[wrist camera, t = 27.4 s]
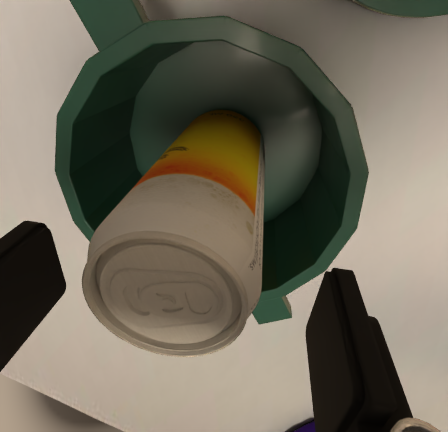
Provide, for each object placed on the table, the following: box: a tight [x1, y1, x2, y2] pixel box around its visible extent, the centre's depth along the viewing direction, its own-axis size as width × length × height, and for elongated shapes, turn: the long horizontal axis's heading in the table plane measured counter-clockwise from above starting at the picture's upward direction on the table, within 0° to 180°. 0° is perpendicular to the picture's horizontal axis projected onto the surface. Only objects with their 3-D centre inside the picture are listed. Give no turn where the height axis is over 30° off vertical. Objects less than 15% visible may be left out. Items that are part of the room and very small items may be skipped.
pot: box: [55, 0, 369, 324], centre depth 19 cm, size 16×21×8 cm
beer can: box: [82, 110, 265, 357], centre depth 16 cm, size 6×6×15 cm
